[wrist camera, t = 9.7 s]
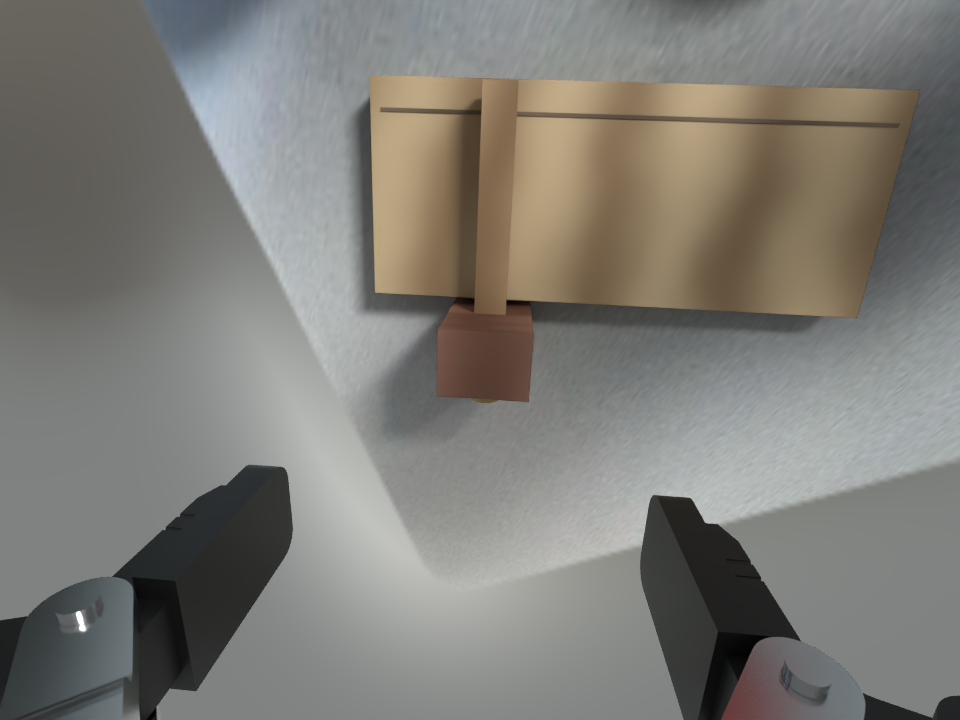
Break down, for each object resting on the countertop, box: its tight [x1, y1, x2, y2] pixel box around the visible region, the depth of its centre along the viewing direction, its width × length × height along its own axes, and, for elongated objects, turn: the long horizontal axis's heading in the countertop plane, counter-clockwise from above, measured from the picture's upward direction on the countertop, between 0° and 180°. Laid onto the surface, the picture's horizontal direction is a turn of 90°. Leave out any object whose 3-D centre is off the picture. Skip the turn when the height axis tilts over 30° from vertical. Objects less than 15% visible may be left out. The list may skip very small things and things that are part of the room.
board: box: [370, 75, 920, 318], centre depth 25 cm, size 24×10×2 cm, turn 88°
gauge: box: [437, 79, 534, 403], centre depth 23 cm, size 4×14×7 cm, turn 178°
